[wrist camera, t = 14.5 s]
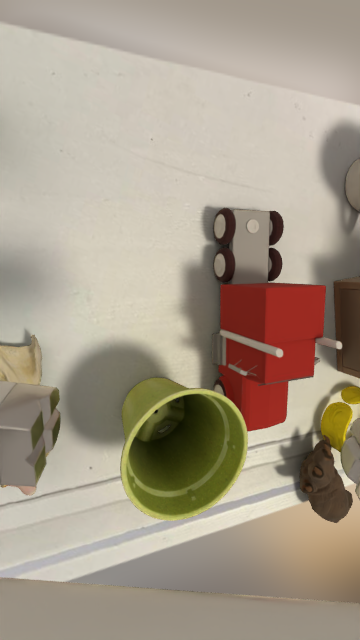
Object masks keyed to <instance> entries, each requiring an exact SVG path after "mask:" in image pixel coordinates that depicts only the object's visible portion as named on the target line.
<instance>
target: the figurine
mask: <svg viewBox="0 0 360 640" xmlns="http://www.w3.org/2000/svg"><path fill="white" fill-rule="evenodd" d="M323 436H324V438H325V440H321V441H320V442H318V443H317V444H316V446H315V447H314V450H313V451H312V452H310V454H309V455H308V457H307V459H305V460H304V461H303V462H302V464H301V469H300V489H301V491H302V492H303V493H306V494H308V498H309V501H310V503H311V506H312V509H313V510H314V511H315V512H316V513H317V514H318V515H320V516H321V517H322V518H324V519H325V520H328V521H331V522H334V523H337V522H338V521H339V520H341V519H342V518H344V517H345V516H346V515H347V513H348V511H349V509H350V508H351V505H352V502H353V500H352V494H351V493H350V492H349V491H347V490H345V488H344V484H343V481H342V478H341V477H340V475H339V474H338V472H337V470H336V469H335V467H334V457H333V454H332V453H331V444H330V439H329V438H328V437H327V436H326V435H323Z"/></svg>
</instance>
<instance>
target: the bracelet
mask: <svg viewBox="0 0 360 640" xmlns="http://www.w3.org/2000/svg"><path fill="white" fill-rule="evenodd" d="M341 397H342V399H343V400H344V401H345V402H346V403H349V404H359V403H360V388H359V387H356V386H350V387H347V388H345V389H343V390H342V392H341ZM351 419H352V409H351V407H350V406H349V405H347V404H345V403H342V402H337V403H333V404H330V405H329V406H328V407H327V408H326V410H325V412H324V414H323V417H322V420H321V433H322V436H323V435H326V436H327V437H328V438H329V439H330V444H331V447H333V448H335V449H336V450H338V451H339V452H341V448H342V446H343V443H344V441H345V440H346V432H347V428H348V425H349V423H350V421H351ZM323 438H324V436H323ZM324 440H325V438H324Z"/></svg>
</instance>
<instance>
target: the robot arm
mask: <svg viewBox="0 0 360 640" xmlns="http://www.w3.org/2000/svg"><path fill="white" fill-rule="evenodd" d="M59 400H60V398H59V390H58V389H57V387H49V386H41V385H33V384H25V383H15V382H7V381H0V485H15V486H32V487H36V485H37V482H38V480H39V478H40V476H41V474H42V472H43V469H44V467H45V465H46V454H47V453H48V452H49V451H51V450H52V449H53V447H54V445H55V443H56V441H57V437H58V433H59V429H60V412H59V411H58V410H57V409H56V406H57V404H58V402H59ZM350 430H351V433H352V436H351V437H349V438H348V439H346V440H345V441H344V443H343V446H342V448H341V463H342V467H343V469H344V471H345V473H346V475H347V477H348V478H350V479H351V480H352V481H353V482H354V483H356V484H357V485H356V489H355V492H356V494H357V496H358V498H359V499H360V418H358V419H356V420H355V421H354V422H353V424H352V426H351V428H350ZM0 640H360V603H348V602H334V601H320V600H306V599H293V598H279V597H265V596H251V595H237V594H222V593H208V592H194V591H180V590H166V589H152V588H139V587H125V586H111V585H98V584H84V583H70V582H56V581H43V580H29V579H15V578H2V577H0Z"/></svg>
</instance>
